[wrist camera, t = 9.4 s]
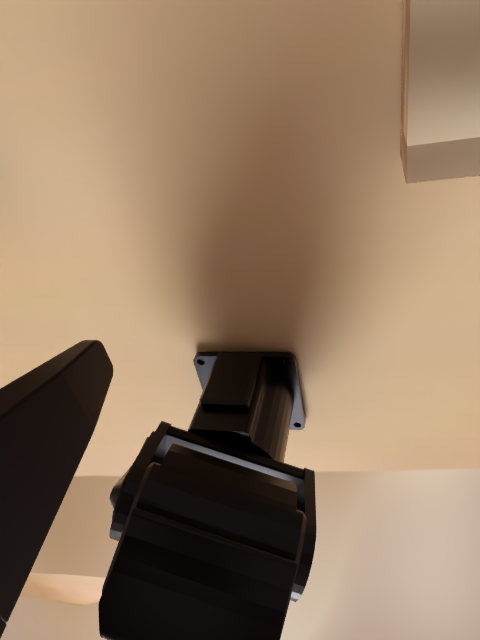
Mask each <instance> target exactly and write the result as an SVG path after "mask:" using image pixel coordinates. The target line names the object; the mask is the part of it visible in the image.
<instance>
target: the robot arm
mask: <svg viewBox="0 0 480 640" xmlns="http://www.w3.org/2000/svg"><path fill="white" fill-rule="evenodd" d="M200 359H202V360H204V361H201V360H200ZM285 360H289V362H287V361H285ZM194 365H195V368H196V371H197V374H198V377H199V380H200V383H201V386H202V389H203V392H202V395H201V397H200V402H199V404H198V407H197V409H196V412H195V414H194V417H193V419H192V422H191V424H190V427H189V429H188V431H185V430H182V429H179V428H176V427H173V426H171V424H169V423H166V422H163V421H161V423H160V425H159V426H158V428H157V430H156V431H155V432H154V431H153V432H152V433H151V435H150V437H147V439H146V441H145V443H144V445H143V447H142V449H141V451H140V453H139V455H138V456H137V458H136V460H135V461H134V463H133V465H132V466H131V467H130V468H129V470H128V471H127V472H126V473H125V474H124V475H123V477H122V478H121V479H120V480H119V481H118V482H117V484H116V485H115V486H114V488H113V489H112V492H111V494H110V501H111V504H112V506H113V509H114V511H113V516H112V524H111V528H110V538H111V539H114V540H117V541H119V543H118V546H117V549H116V551H115V554H114V557H113V560H112V563H111V566H110V568H109V571H108V574H107V577H106V579H105V582H104V585H103V589H102V596H101V599H100V601H99V630H100V636H101V637H102V638H105V639H107V640H280V637H281V633H282V629H283V625H284V621H285V617H286V613H287V609H288V605H289V601H290V600H292V601H295V602H296V601H297V600H298V599H299V598H300V596H301V595H302V593H303V591H304V588H305V586H306V583H307V579H308V577H309V573H310V569H311V565H312V560H313V555H314V549H315V541H316V505H315V475H314V471H312V470H309V469H306V468H304V469H301V468H298V467H295V466H292V465H289V464H286V463H283V462H284V457H285V451H286V445H287V439H288V434H289V429H290V430H302V429H303V428H304V427H305V414H304V408H303V401H302V395H301V388H300V382H299V375H298V369H297V362H296V358H295V356H294V355H293V354H292V353H289V352H198V353H197V354H196V355H195V358H194ZM112 376H113V365H112V363H111V361H110V359H109V357H108V354H107V352H106V350H105V348H104V346H103V344H102V343H101V342H100V341H98V340H84V341H81V342H79V343H78V344H76V345H74V346H72V347H71V348H69V349H67V350H66V351H64V352H62V353H60V354H59V355H57V356H55V357H54V358H52V359H50V360H49V361H47V362H45V363H43V364H42V365H40V366H38V367H37V368H35V369H33V370H32V371H30V372H28V373H26V374H25V375H23V376H21V377H20V378H18V379H16V380H14V381H13V382H11V383H9V384H8V385H6V386H4V387H3V388H1V389H0V638H1V636H2V634H3V631H4V629H5V627H6V622H7V621H8V620H9V617H10V615H11V613H12V611H13V609H14V607H15V604H16V602H17V600H18V598H19V596H20V593H21V591H22V589H23V587H24V584H25V582H26V580H27V578H28V576H29V573H30V571H31V569H32V567H33V565H34V562H35V560H36V558H37V556H38V554H39V551H40V549H41V547H42V545H43V542H44V540H45V538H46V536H47V534H48V531H49V529H50V527H51V525H52V523H53V520H54V518H55V516H56V514H57V512H58V509H59V507H60V505H61V503H62V501H63V498H64V496H65V494H66V492H67V489H68V487H69V485H70V483H71V481H72V478H73V476H74V474H75V472H76V470H77V468H78V465H79V463H80V461H81V459H82V457H83V454H84V452H85V450H86V448H87V445H88V443H89V441H90V439H91V436H92V434H93V432H94V429H95V427H96V424H97V421H98V418H99V415H100V412H101V409H102V406H103V403H104V400H105V397H106V394H107V391H108V388H109V385H110V382H111V379H112ZM297 422H298V423H297Z"/></svg>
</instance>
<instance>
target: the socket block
mask: <svg viewBox="0 0 480 640" xmlns="http://www.w3.org/2000/svg"><path fill="white" fill-rule="evenodd" d="M401 159H402V164H403V170H404V175H405V180H406V183H414V182H424V181H433V180H443V179H452V178H462V177H472V176H480V0H403V27H402V91H401Z"/></svg>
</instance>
